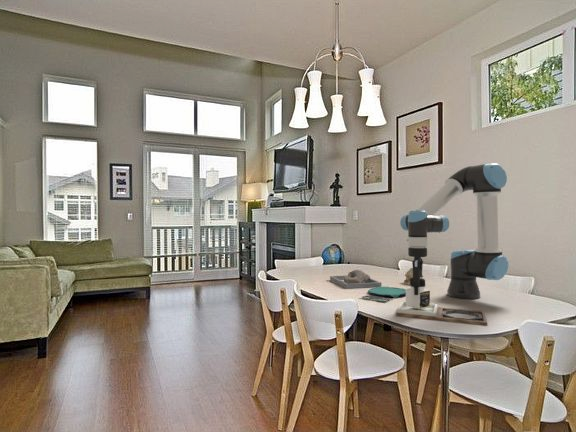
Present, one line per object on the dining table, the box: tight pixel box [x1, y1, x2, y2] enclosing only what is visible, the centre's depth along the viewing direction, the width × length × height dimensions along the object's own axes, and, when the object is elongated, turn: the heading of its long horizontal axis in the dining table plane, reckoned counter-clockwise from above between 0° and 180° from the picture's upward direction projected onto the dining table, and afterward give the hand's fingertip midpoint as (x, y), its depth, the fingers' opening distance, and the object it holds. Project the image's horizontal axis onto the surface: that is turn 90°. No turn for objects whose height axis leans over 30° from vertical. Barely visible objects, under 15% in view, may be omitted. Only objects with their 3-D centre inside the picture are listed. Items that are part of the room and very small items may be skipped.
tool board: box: [395, 300, 488, 326], centre depth 155 cm, size 33×18×2 cm, turn 66°
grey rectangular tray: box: [329, 274, 382, 290], centre depth 225 cm, size 21×28×2 cm
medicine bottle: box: [405, 277, 431, 309], centre depth 159 cm, size 7×7×12 cm
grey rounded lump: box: [343, 269, 371, 284], centre depth 222 cm, size 16×9×15 cm
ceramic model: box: [403, 267, 424, 286], centre depth 222 cm, size 14×11×10 cm
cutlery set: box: [358, 286, 407, 304], centre depth 192 cm, size 20×30×2 cm, turn 140°
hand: (417, 300), depth 159 cm, fingers closed on medicine bottle, 9 cm apart
